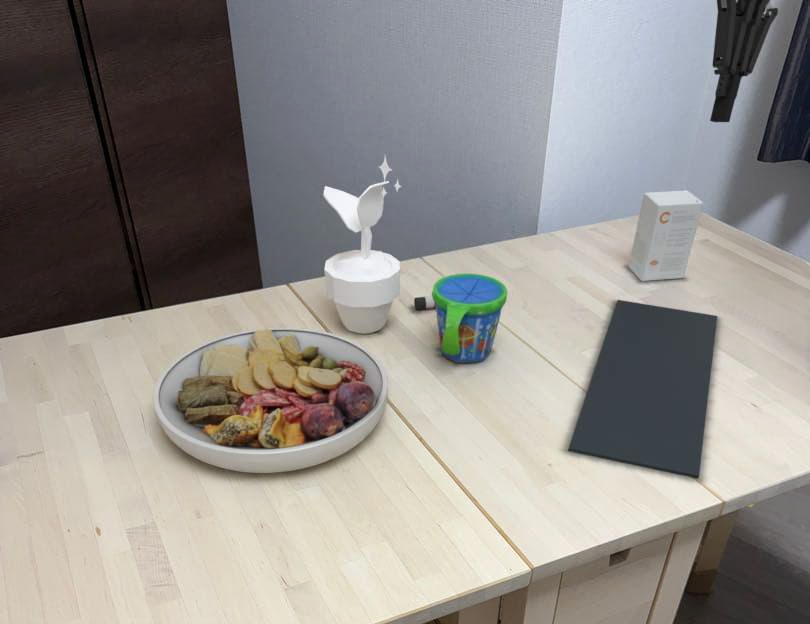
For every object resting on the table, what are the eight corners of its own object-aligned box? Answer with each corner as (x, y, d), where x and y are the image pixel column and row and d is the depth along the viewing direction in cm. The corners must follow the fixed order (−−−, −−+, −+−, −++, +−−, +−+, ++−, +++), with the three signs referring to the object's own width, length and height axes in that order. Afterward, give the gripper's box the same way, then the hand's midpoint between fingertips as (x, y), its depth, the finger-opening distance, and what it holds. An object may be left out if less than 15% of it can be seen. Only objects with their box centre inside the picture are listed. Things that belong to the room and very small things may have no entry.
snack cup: (456, 322, 119) (460, 260, 112) (517, 338, 115) (525, 275, 108) (410, 367, 109) (411, 301, 102) (475, 386, 105) (481, 319, 98)
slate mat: (716, 318, 121) (717, 315, 120) (698, 478, 91) (699, 475, 90) (617, 302, 125) (617, 299, 124) (568, 451, 95) (568, 447, 94)
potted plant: (416, 325, 118) (419, 155, 101) (362, 351, 112) (356, 175, 95) (362, 299, 124) (356, 135, 107) (308, 322, 118) (293, 152, 101)
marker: (417, 312, 121) (417, 300, 120) (414, 306, 123) (414, 295, 121) (505, 302, 124) (507, 291, 123) (501, 297, 125) (503, 286, 124)
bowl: (113, 452, 93) (95, 398, 88) (237, 342, 114) (229, 293, 108) (328, 512, 86) (324, 457, 80) (420, 382, 106) (422, 332, 100)
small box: (668, 264, 136) (688, 189, 127) (683, 279, 131) (705, 202, 122) (626, 266, 135) (643, 191, 126) (640, 281, 130) (658, 205, 121)
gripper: (765, -39, 120) (724, 127, 129) (715, -62, 113) (675, 116, 123) (809, -48, 114) (762, 126, 124) (759, -72, 107) (714, 115, 117)
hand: (719, 121), depth 123 cm, fingers closed
